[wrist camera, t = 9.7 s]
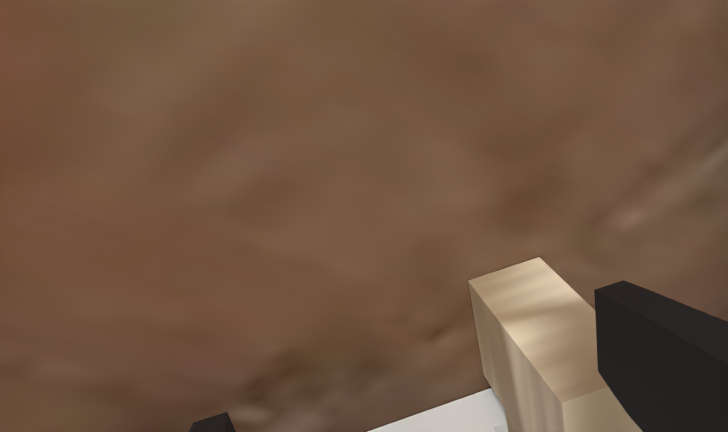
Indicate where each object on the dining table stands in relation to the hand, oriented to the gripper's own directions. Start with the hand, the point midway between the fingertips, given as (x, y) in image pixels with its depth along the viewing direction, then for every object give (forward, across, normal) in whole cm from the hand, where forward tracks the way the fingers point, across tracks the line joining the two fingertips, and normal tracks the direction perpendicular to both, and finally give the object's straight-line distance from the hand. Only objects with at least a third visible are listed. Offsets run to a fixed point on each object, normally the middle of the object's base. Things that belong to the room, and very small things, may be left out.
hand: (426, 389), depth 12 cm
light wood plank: (+10, -6, +12) cm, 17 cm away
